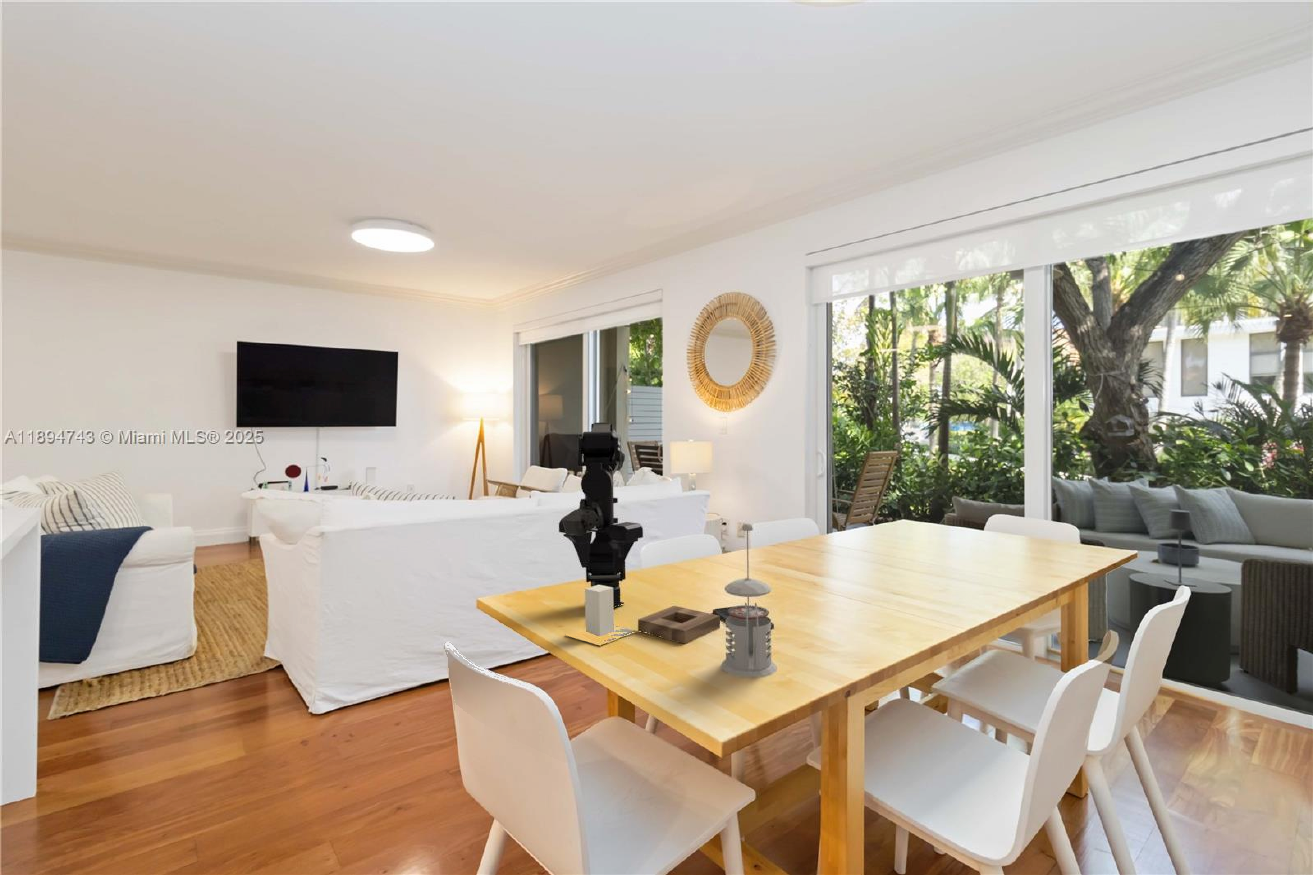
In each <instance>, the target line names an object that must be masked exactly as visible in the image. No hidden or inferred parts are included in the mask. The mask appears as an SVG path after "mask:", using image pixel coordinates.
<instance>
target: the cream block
mask: <svg viewBox="0 0 1313 875" xmlns="http://www.w3.org/2000/svg"><path fill="white" fill-rule="evenodd" d="M584 596H585V597H584V600H585V601H584V603H585V607H584V608H585V609H584V610H585V615H584V616H585V627H586V632H589V633H591V634H594V635H596V636H603V635H606V634H608V633H611V632H614V625H615V624H614V619H615V618H614V613H615V612H614V608H613V587H608V586H603V585H596V586H593V587H591V586H590V587H589V586H588V587H587V588H586V587H585V588H584Z"/></svg>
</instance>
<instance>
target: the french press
mask: <svg viewBox="0 0 1313 875" xmlns="http://www.w3.org/2000/svg"><path fill="white" fill-rule="evenodd" d="M741 530H742V531H744V532H746V566H747V567H746V572H747V575H746V576H747V577H744V578H739V579H736V580H734V581H731V582H730V583H728V584H727V585H725V586H724V589H723V590H724V591H725V592H726V593H727V594H729V595H732V596H737V597H743V598H744V597H745V598H747V602H744V604H743V605H742V604H741V605H736V606H735V607H734V606H731V607H732V608H730V609H728V613H729V615H730V616H728V617H727V618H726V622H725V628H726V629H728V630H729V631H727V630H725V635H726V636H727V637H729V638H727V637H725V643H727V644H728V645H726V644H725V649H726V650H727V651H728V652H727V651H726V652H725V659H723V661H721V664H720V668H721V670H723V672H725V673H727V674H729V675H731V676H735V677H738V678H739V677H740V678H741V677H742V678H750V679H751V678H752V679H753V678H765V677H767V676H771V675H773V674H774V673H775V672H777V671H778V669H777V668H778V665H777V664H775V662H774V661H773V660H772V652H771V651H772V637H771V636H772V630H771V629H770V628H771V623H772V619H771V618H769V617H768V616H769V613H770V611H769V610H768V609H767V608H766V607H762V606H759V605H757V602H754V605H751V604H750V598H753V597H755V598H757V597H761V596H765V595H767V594H770V592H771V591H772V587H771V586H770V585H769V584H767V583H766V582H765V581H762V580H758V579H755V578H750V577H749V574H750V573H749V572H750V571H749V566H750V565H749V564H750V563H749V532H753V530H754V528H753V525H752V524H751V523H743V525H742V527H741ZM758 626H759V627H758ZM733 643H734V644H733Z"/></svg>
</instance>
